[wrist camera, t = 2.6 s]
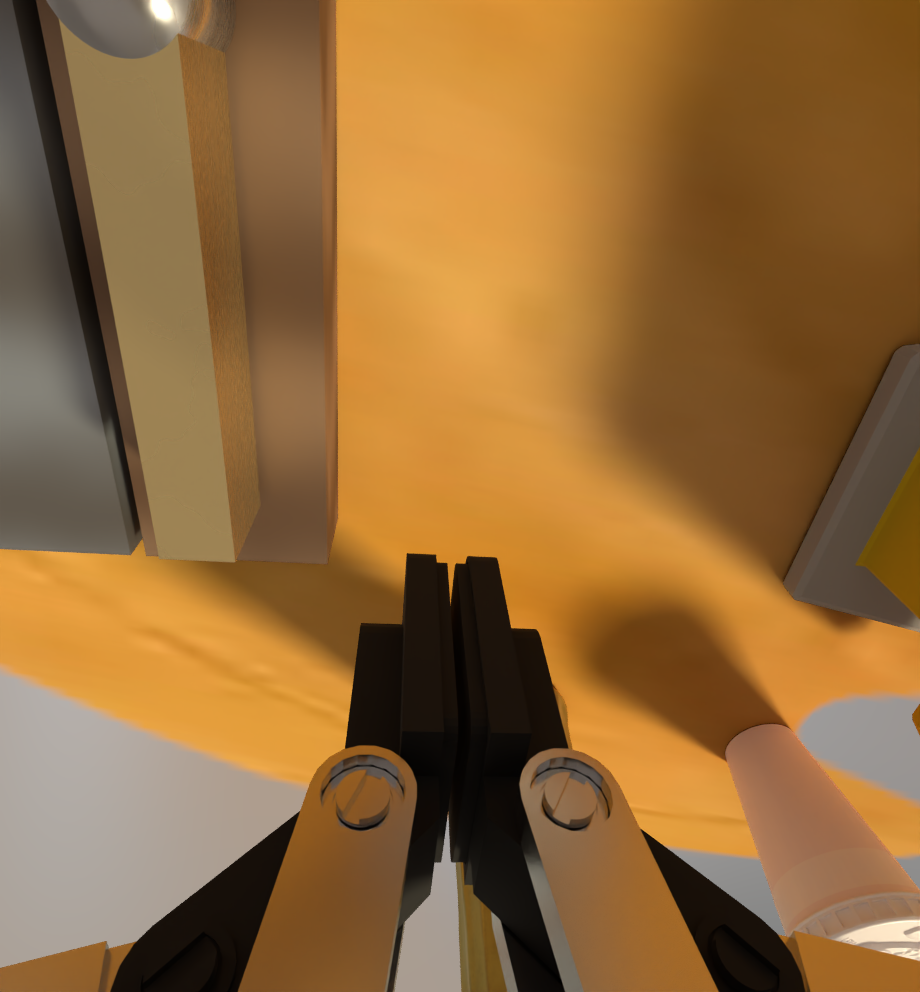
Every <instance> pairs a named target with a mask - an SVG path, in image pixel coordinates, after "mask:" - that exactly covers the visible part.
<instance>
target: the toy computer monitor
mask: <svg viewBox="0 0 920 992" xmlns="http://www.w3.org/2000/svg"><path fill="white" fill-rule="evenodd" d="M783 585H784V586H785V588H786V589H787V591H788V592H789V593H790V595H791V596H792V597H793V598H794V599H795V600H798V601H802V602H806V603H810V604H814V605H818V606H821V607H825V608H829V609H833V610H837V611H841V612H844V613H848V614H852V615H856V616H860V617H864V618H868V619H871V620H875V621H879V622H883V623H887V624H891V625H894V626H898V627H902V628H906V629H910V630H914V631H917V632H920V344H913V345H904V346H902V347H900V348H899V349H897V350H896V351H895V353H894V355H893V357H892V359H891V361H890V363H889V365H888V367H887V369H886V372H885V374H884V376H883V378H882V380H881V382H880V384H879V386H878V388H877V390H876V392H875V394H874V396H873V398H872V400H871V403H870V405H869V407H868V409H867V411H866V413H865V415H864V417H863V419H862V421H861V423H860V425H859V427H858V429H857V431H856V433H855V436H854V438H853V440H852V442H851V444H850V446H849V448H848V450H847V452H846V454H845V456H844V458H843V460H842V462H841V464H840V467H839V469H838V471H837V473H836V475H835V477H834V479H833V481H832V483H831V485H830V487H829V489H828V491H827V493H826V495H825V497H824V500H823V502H822V504H821V506H820V508H819V510H818V512H817V514H816V516H815V518H814V520H813V522H812V524H811V526H810V528H809V531H808V533H807V535H806V537H805V539H804V541H803V543H802V545H801V547H800V549H799V551H798V553H797V555H796V557H795V559H794V561H793V564H792V566H791V568H790V570H789V572H788V574H787V576H786V578H785V580H784V582H783ZM912 718H913V719H912V720H913V722H914V724H915V726H916V728H917V730H918V733H919V735H920V704H919V706H918V707H917V709H916V710H915V711H914V713H913V714H912Z"/></svg>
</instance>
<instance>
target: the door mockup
mask: <svg viewBox="0 0 920 992" xmlns="http://www.w3.org/2000/svg"><path fill="white" fill-rule="evenodd" d="M235 5H236V22H235V29H234V34H233V37H232V40H231V43H230V45H229V47H228V49H227V51H226V52H225V59H226V72H227V85H228V97H229V110H230V123H231V136H232V148H233V161H234V174H235V187H236V199H237V212H238V225H239V238H240V250H241V263H242V276H243V289H244V301H245V314H246V327H247V340H248V352H249V365H250V378H251V390H252V403H253V416H254V429H255V441H256V454H257V467H258V480H259V492H260V508H259V510H258V512H257V514H256V517H255V519H254V521H253V523H252V526H251V528H250V530H249V532H248V535H247V537H246V539H245V541H244V544H243V546H242V548H241V551H240V553H239V555H238V557H237V560H247V561H268V562H290V563H311V564H328V559H329V555H330V550H331V546H332V542H333V537H334V533H335V528H336V524H337V519H338V405H337V139H336V0H235ZM142 538H143V542H144V547H145V552H146V556H159V555H158V550H157V544H156V539H155V534H154V528H153V523H152V517H151V512H150V507H149V501H148V496H147V491H146V485H145V480H144V474H143V469H142V464H141V458H140V453H139V448H138V442H137V437H136V431H135V426H134V421H133V415H132V410H131V405H130V399H129V394H128V388H127V383H126V378H125V372H124V367H123V362H122V356H121V351H120V345H119V340H118V335H117V329H116V324H115V318H114V313H113V308H112V302H111V297H110V292H109V286H108V281H107V275H106V270H105V265H104V259H103V254H102V249H101V243H100V238H99V232H98V227H97V222H96V216H95V211H94V206H93V200H92V195H91V189H90V184H89V179H88V173H87V168H86V163H85V157H84V152H83V146H82V141H81V136H80V130H79V125H78V120H77V114H76V109H75V103H74V98H73V93H72V87H71V82H70V76H69V71H68V66H67V60H66V55H65V50H64V44H63V39H62V33H61V28H60V23H59V18H58V17H57V16H56V14H55V13H54V11H53V10H52V9H51V7H50V6H49V4H48V3H47V1H46V0H0V549H13V550H34V551H55V552H77V553H98V554H119V555H131V554H132V552H133V551H134V550H135V548H136V547H137V545H138V544H139V542H140V541H141V540H142Z"/></svg>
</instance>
